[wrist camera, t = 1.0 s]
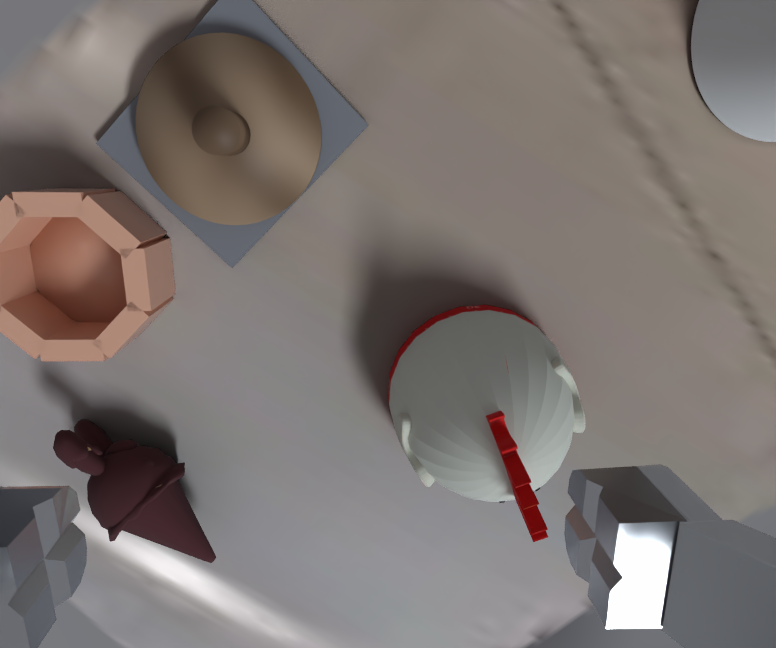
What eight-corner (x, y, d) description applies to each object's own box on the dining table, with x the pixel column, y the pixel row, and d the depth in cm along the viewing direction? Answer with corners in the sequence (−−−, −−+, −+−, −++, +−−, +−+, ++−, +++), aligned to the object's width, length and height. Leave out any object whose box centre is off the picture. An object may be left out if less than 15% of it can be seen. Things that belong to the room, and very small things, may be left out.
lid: (224, -7, 36) (203, -32, 31) (358, 135, 38) (358, 132, 34) (105, 132, 38) (69, 128, 33) (241, 258, 40) (225, 270, 36)
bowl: (80, 154, 38) (40, 153, 34) (204, 266, 41) (183, 280, 36) (-15, 266, 40) (-66, 280, 35) (109, 366, 43) (78, 392, 38)
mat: (236, -17, 36) (234, -19, 35) (368, 125, 39) (368, 124, 38) (99, 143, 38) (96, 143, 38) (233, 266, 41) (231, 267, 40)
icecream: (245, 545, 40) (90, 399, 38) (168, 621, 40) (4, 477, 37) (252, 509, 47) (120, 384, 45) (186, 573, 47) (48, 449, 44)
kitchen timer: (421, 487, 47) (448, 630, 33) (362, 342, 43) (362, 433, 29) (579, 431, 46) (677, 553, 32) (532, 278, 42) (620, 339, 28)
